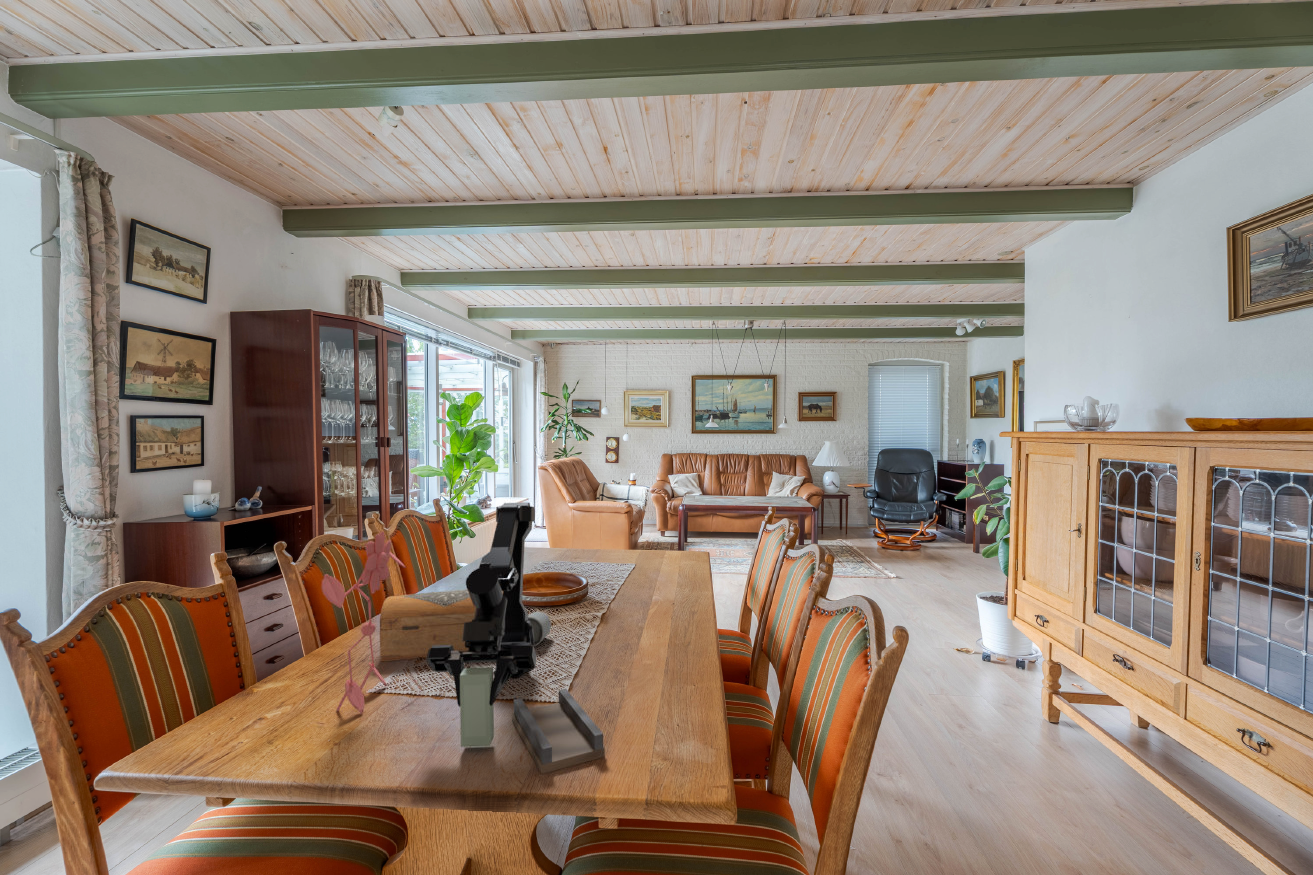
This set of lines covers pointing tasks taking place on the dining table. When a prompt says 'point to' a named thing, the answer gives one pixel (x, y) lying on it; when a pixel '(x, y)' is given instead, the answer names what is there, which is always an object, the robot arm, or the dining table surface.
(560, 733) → the door track
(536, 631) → the ceramic mug
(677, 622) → the dining table surface
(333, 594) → the pink leafy branch
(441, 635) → the wooden box
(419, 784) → the dining table surface
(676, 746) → the dining table surface
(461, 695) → the sage green panelled box
